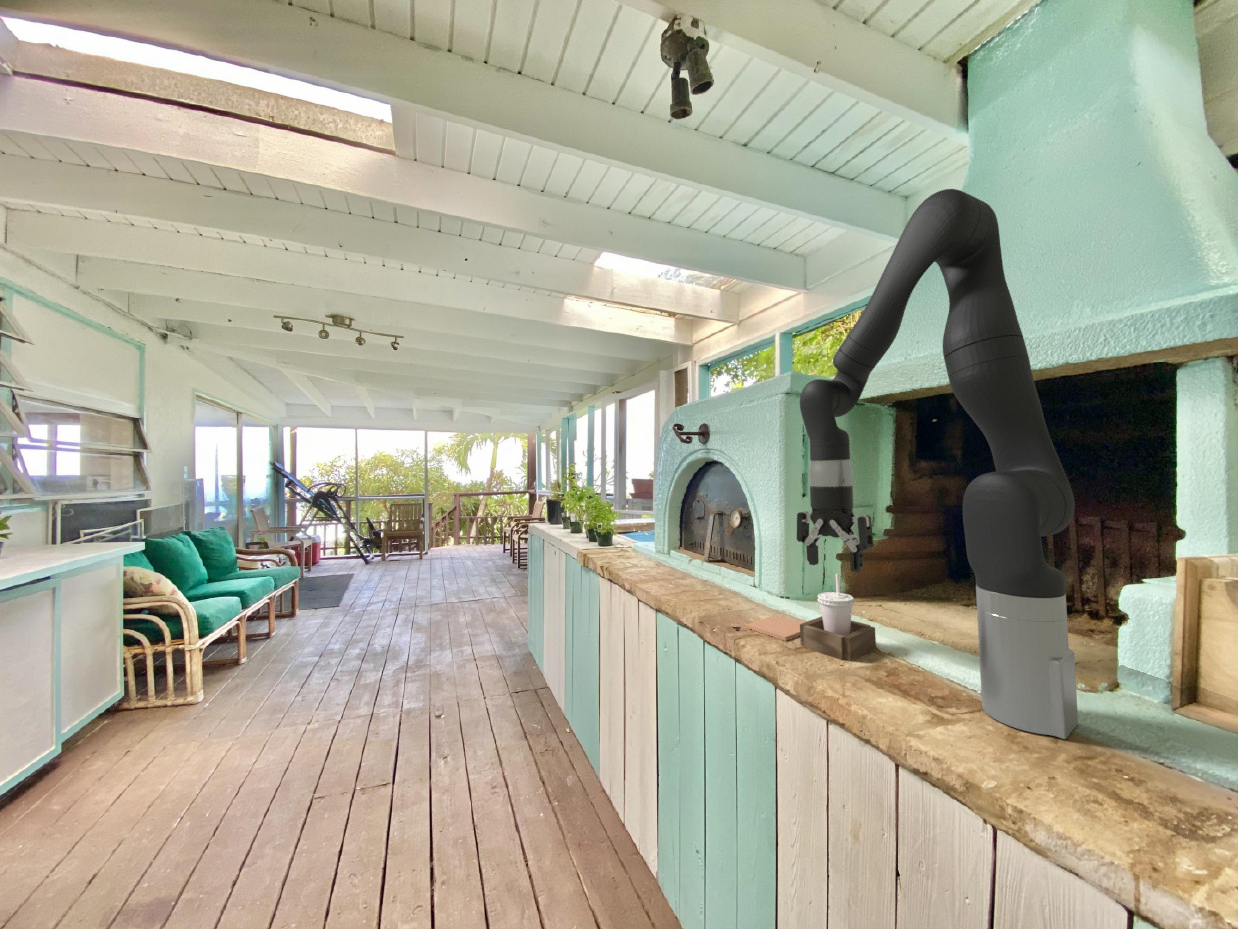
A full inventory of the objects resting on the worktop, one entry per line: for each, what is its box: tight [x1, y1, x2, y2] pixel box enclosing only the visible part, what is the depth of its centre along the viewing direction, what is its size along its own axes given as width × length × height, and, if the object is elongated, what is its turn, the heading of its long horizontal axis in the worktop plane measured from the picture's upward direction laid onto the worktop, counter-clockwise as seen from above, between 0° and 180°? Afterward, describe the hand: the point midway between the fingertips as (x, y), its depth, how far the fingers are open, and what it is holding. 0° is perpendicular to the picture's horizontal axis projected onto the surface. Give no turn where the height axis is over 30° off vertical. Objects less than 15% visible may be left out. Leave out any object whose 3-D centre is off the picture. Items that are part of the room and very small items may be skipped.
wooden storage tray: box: [799, 616, 877, 662], centre depth 89 cm, size 10×10×4 cm
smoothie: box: [817, 573, 855, 636], centre depth 89 cm, size 6×6×14 cm
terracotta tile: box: [745, 614, 803, 642], centre depth 99 cm, size 10×10×1 cm
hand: (833, 567), depth 89 cm, fingers open, 8 cm apart
